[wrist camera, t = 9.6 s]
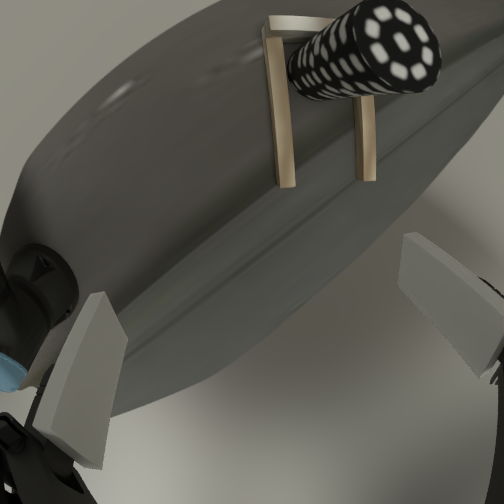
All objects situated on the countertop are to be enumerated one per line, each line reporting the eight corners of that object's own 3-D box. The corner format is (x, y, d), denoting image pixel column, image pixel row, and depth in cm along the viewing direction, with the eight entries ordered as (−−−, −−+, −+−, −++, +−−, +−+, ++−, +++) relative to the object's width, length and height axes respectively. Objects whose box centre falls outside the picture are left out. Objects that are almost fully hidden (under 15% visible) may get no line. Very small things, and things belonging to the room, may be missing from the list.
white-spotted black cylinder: (355, 84, 33) (455, 72, 15) (310, 111, 34) (393, 111, 16) (322, 36, 29) (403, -13, 11) (274, 62, 31) (329, 12, 13)
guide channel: (276, 183, 38) (286, 195, 33) (261, 30, 28) (268, 15, 23) (367, 176, 39) (388, 186, 34) (358, 35, 29) (378, 26, 24)
